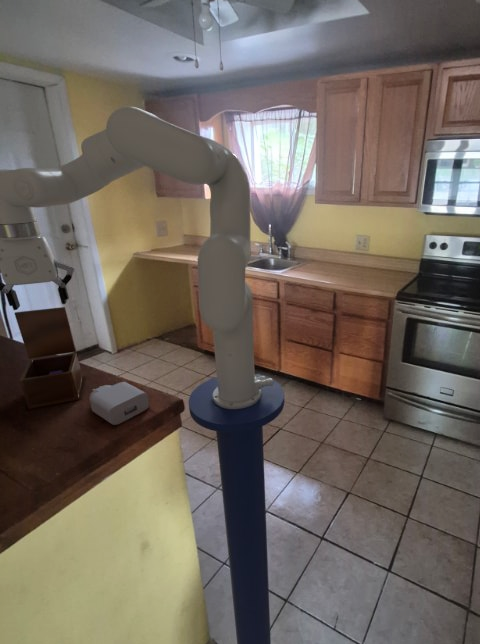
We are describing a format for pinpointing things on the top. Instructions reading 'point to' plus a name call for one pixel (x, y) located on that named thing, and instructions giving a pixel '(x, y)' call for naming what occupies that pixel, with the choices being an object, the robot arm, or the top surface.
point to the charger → (118, 402)
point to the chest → (51, 380)
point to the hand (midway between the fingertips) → (41, 305)
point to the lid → (45, 332)
